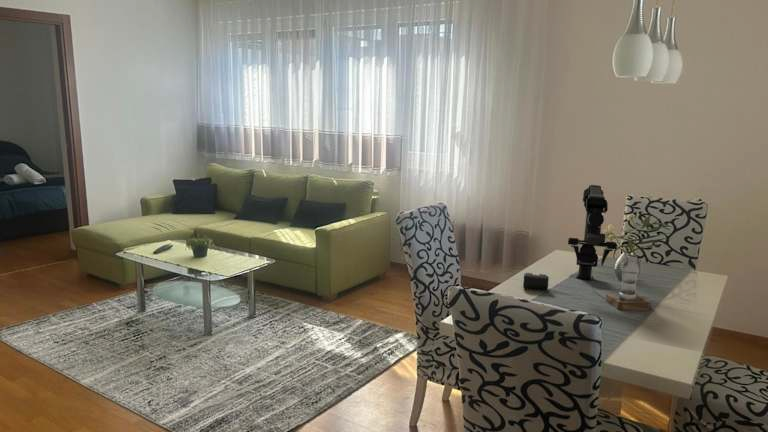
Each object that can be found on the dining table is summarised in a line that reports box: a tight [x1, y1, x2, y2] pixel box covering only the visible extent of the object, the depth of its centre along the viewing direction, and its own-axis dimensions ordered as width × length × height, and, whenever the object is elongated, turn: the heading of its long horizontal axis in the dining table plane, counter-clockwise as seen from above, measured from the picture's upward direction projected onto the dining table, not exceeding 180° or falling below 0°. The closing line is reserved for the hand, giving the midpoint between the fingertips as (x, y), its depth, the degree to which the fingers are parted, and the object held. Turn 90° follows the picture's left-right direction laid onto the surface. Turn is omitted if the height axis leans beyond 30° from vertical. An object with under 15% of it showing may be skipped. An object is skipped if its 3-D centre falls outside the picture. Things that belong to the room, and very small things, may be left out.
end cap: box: [522, 272, 550, 292], centre depth 245 cm, size 10×7×7 cm
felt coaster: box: [592, 289, 620, 301], centre depth 241 cm, size 12×12×1 cm
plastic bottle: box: [618, 254, 640, 302], centre depth 230 cm, size 6×7×20 cm
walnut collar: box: [605, 292, 653, 311], centre depth 230 cm, size 10×13×3 cm
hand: (589, 264), depth 236 cm, fingers open, 9 cm apart
